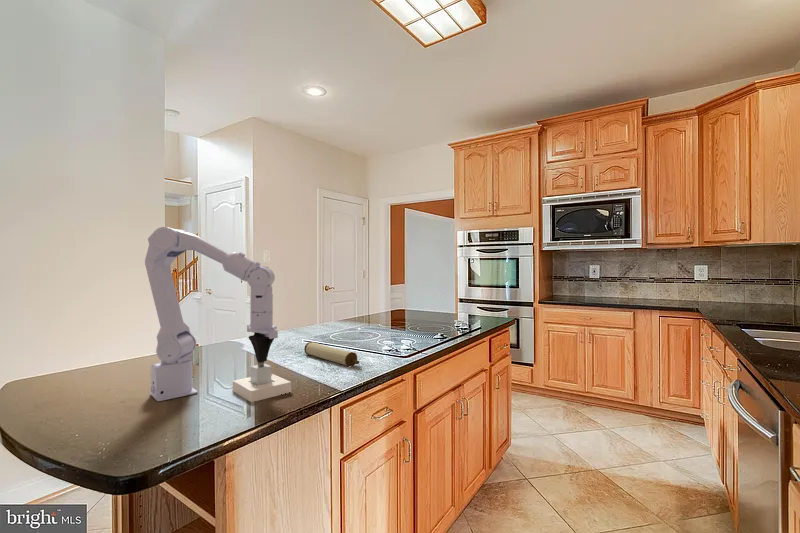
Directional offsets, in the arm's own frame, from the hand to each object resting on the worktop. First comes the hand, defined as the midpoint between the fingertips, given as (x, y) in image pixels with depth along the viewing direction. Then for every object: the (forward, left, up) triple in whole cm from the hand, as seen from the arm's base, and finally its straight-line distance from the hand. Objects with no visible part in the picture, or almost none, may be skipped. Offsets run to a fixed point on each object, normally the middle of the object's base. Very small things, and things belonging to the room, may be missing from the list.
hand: (261, 361), depth 107 cm
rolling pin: (+33, +16, -9) cm, 38 cm away
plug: (0, 0, -8) cm, 8 cm away
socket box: (0, 0, -8) cm, 8 cm away
